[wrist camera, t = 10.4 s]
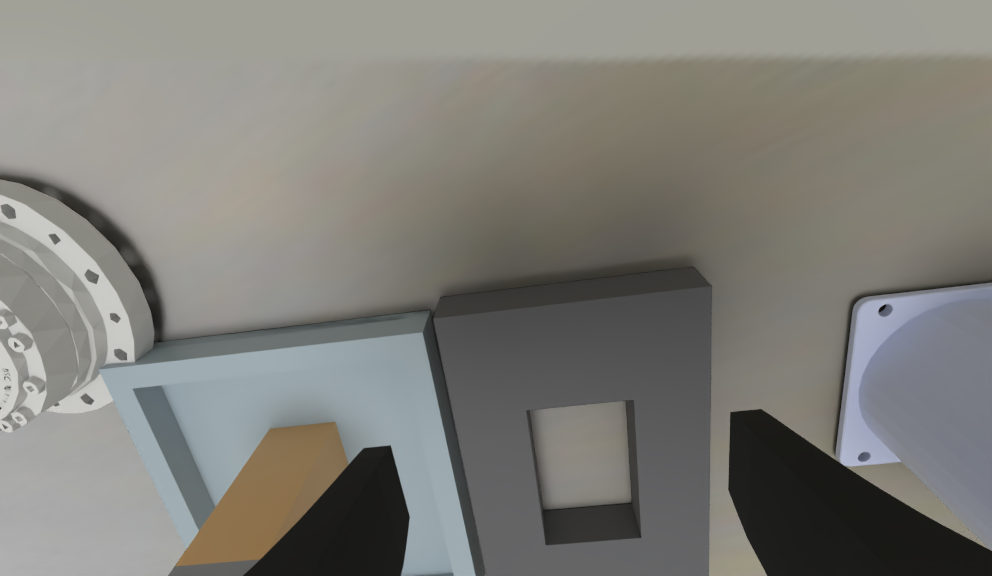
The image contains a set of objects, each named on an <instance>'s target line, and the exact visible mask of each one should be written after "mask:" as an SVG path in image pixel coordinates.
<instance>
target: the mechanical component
mask: <svg viewBox="0 0 992 576" xmlns="http://www.w3.org/2000/svg"><path fill="white" fill-rule="evenodd" d="M153 342H154V327H153V321H152V316H151V311H150V308H149V306H148V303H147V301H146V298H145V296H144V293H143V291H142V288H141V286H140V283H139V281H138V280H137V278H136V277H135V275H134V274H133V272H132V271H131V270H130V268H129V267H128V265H127V264H126V262H125V261H124V259H123V258H122V257H121V255H120V254H119V252H118V251H117V249H116V248H115V247H114V246H113V245H112V244H111V243H110V242H109V241H108V240H107V239H106V238H105V237H104V236H103V235H102V234H101V233H100V232H99V231H98V230H97V229H96V228H95V227H94V226H93V225H92V224H91V223H89V222H88V221H87V220H86V219H85V218H83V217H82V216H80V215H79V214H77V213H76V212H74V211H73V210H72V209H70V208H69V207H67V206H66V205H64V204H63V203H62V202H60V201H59V200H57V199H55V198H53V197H51V196H48V195H46V194H44V193H41V192H39V191H37V190H34V189H32V188H30V187H27V186H25V185H23V184H20V183H15V182H10V181H5V180H0V431H1V430H3V431H5V432H9V433H10V432H12V431H14V430H16V429H18V428H19V427H21V426H23V425H25V424H27V423H28V422H29V421H31V420H32V419H34V418H35V417H37V416H38V415H40V414H41V413H43V412H44V411H52V412H57V413H82V412H87V411H91V410H96V409H99V408H101V407H103V406H105V405H106V404H108V403H110V402H112V401H113V399H112V397H111V395H110V393H109V390H108V388H107V386H106V384H105V382H104V380H103V378H102V376H101V374H100V372H99V369H100V368H101V367H103V366H104V365H106V364H114V363H129V362H135V361H137V360H138V359H139V358H141V357H142V356H144V355H145V354H146V353H148V352H149V351H150V350H152V349H153Z"/></svg>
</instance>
